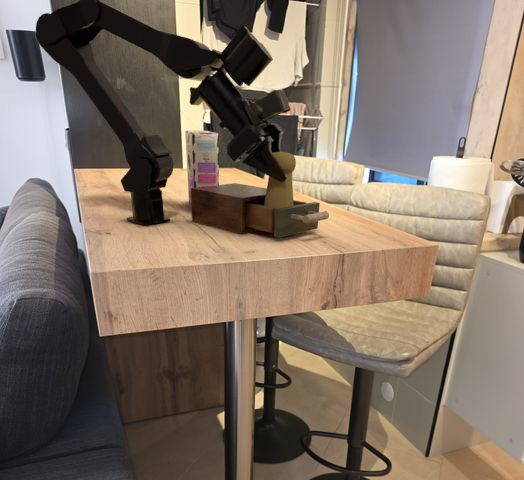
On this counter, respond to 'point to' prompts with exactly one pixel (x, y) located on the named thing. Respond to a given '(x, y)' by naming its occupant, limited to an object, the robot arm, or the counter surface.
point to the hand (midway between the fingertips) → (287, 179)
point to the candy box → (202, 159)
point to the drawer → (283, 217)
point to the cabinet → (224, 205)
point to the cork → (278, 191)
